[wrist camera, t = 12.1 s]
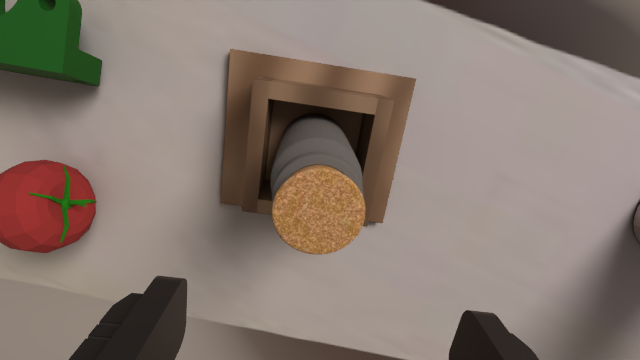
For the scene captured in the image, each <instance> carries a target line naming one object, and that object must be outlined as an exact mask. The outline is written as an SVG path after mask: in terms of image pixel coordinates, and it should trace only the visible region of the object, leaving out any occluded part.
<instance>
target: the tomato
mask: <svg viewBox="0 0 640 360" xmlns="http://www.w3.org/2000/svg"><path fill="white" fill-rule="evenodd" d="M95 203H96V201H95V195H94V192H93V190H92V188H91V185H90V183H89V181H88V180H87V179H86V178H85V177H84V176H83V175H82V174H81V173H80V172H79V171H78V170H77V169H75V168H72V167H70V166H67V165H64V164H62V163H58V162H53V161H48V160H40V161H28V162H23V163H21V164H18V165H16V166H14V167H11V168H10V169H8V170H6V171H5V172H3V173H1V174H0V242H1V243H3V244H4V245H6V246H7V247H9V248H12V249H18V250H23V251H32V252H41V253H47V252H50V251H53V250H56V249H59V248H61V247H64V246H67V245H69V244H71V243H73V242H76V241H78V240H79V239H80V238H81V237H82V236H83V235H84V234H85V233H86V232H87V231H88V230H89V228H90V226H91V223H92V221H93V218H94V216H95Z"/></svg>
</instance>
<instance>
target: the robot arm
mask: <svg viewBox="0 0 640 360" xmlns="http://www.w3.org/2000/svg"><path fill="white" fill-rule="evenodd" d="M633 226H634V233H635V235H636V238H637V239H638V241H639V242H640V205H639V206H638V208H637V211H636V213H635V217H634V223H633ZM186 308H187V280H186V279H183V278H174V277H165V276H157V277H155V278H154V280H153V281H152V282H151V284H150V285H149V287H148V288H147V289H146V291H145V292H144V294H137V293H131V294H129V295H128V296H126V297H125V298H123V299H122V300H120V301H119V302H117V303H116V304H114V305H113V306H112V307H111V308H110V310H109V311H108V312H107V313H106V315H105V316H104V317H103V318H102V319H101V321H100V323H99V325H97V326H96V327H95V328H94V329H93V330H92V332H91V333H90V334H89V336H88V339H85V340H84V341H83V343H82V344H81V345H80V346H79V348H78V349H77V350H76V351H75V352H74V354H73V355H72V356H71V357H70V359H69V360H175V358H176V356H177V353H178V351H179V349H180V347H181V344H182V341H183V337H184V333H185V327H186ZM449 360H539V359H538V358H537V356H536V355H535V354H534V352H533V351H532V350H531V349H530V348H529V347H528V346H527V345H526V344H524V343H523V342H522V341H521V340H520V339H518V338H517V337H516V336H515V335H514V334H511V333H509V332H508V330H507V329H506V327H505V326H504V325H503V323H502V322H501V321H500V319H499V318H498V317H497V316H496V315H495V314H493V313H487V312H478V311H469V310H467V311H465V312H464V313H463V314H462V317H461V320H460V322H459V325H458V328H457V331H456V334H455V337H454V340H453V342H452V345H451V348H450V352H449Z"/></svg>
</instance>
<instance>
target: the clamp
mask: <svg viewBox="0 0 640 360" xmlns="http://www.w3.org/2000/svg"><path fill="white" fill-rule="evenodd" d="M4 5H5V0H0V70H6V71H12V72H17V73H23V74H29V75H35V76H41V77H46V78H52V79H58V80H64V81H70V82H75V83H81V84H87V85H93V86H99V84H100V75H101V66H102V60H100V59H98V58H96V57H94V56H92V55H90V54H87V53H85V52H83V51H81V50H79V49H78V45H79V36H80V27H81V17H82V9H81V5H80V3H79V1H78V0H17V2H16V4H15V5H14V6H13V7H12V8H11V9H10V10H9V11H8V12H6V13H5V6H4Z"/></svg>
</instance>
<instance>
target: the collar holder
mask: <svg viewBox="0 0 640 360" xmlns="http://www.w3.org/2000/svg"><path fill="white" fill-rule="evenodd" d="M415 81H416V79H414V78H408V77H401V76H395V75H389V74H383V73H377V72H370V71H364V70H358V69H352V68H346V67H339V66H333V65H327V64H321V63H315V62H308V61H302V60H296V59H290V58H284V57H277V56H271V55H265V54H259V53H253V52H246V51H240V50H234V49H230V61H229V77H228V93H227V109H226V125H225V141H224V157H223V173H222V189H221V203H224V204H232V205H240V206H242V211H245V212H253V213H261V214H269V215H272V191H271V172H272V168H273V164H274V161H275V158H276V155H277V152H278V148H279V146H280V143H281V140H282V137H283V135H284V132H285V130H286V129H287V127H288V126H289V125H290V123H291V122H293V121H294V120H295V119H296V118H298V117H300V116H302V115H305V114H310V113H317V114H323V115H325V116H328V117H330V118H332V119H333V120H334V121H335V122H336V123H337V124H338V125H339V126H340V127H341V129H342V131H343V132H344V134H345V136H346V138H347V140H348V142H349V144H350V146H351V148H352V150H353V151H354V154H355V156H356V158H357V160H358V162H359V164H360V167H361V171H362V180H363V183H362V187H363V193H364V202H365V208H366V210H365V219H364V223H363V226H367V224H368V221H369V222H377V223H383V219H384V214H385V210H386V206H387V201H388V197H389V193H390V189H391V184H392V180H393V176H394V171H395V167H396V163H397V159H398V154H399V150H400V146H401V141H402V137H403V133H404V129H405V124H406V120H407V116H408V111H409V107H410V103H411V99H412V94H413V90H414V86H415Z"/></svg>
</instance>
